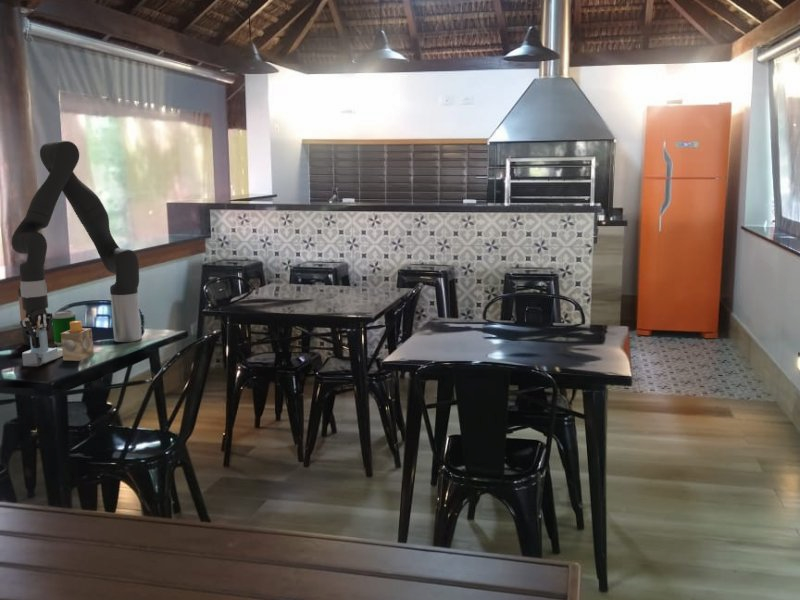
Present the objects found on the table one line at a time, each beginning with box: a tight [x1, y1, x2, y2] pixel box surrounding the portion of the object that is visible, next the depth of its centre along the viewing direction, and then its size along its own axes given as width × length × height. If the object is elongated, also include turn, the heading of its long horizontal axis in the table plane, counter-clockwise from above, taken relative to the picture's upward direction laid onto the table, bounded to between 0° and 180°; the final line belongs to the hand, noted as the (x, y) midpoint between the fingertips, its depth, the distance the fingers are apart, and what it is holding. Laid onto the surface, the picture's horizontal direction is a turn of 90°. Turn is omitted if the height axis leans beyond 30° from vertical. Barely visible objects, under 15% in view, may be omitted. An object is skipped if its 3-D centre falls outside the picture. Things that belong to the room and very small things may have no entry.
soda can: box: [51, 309, 77, 347], centre depth 268 cm, size 8×8×12 cm
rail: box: [21, 345, 63, 368], centre depth 251 cm, size 23×5×4 cm, turn 170°
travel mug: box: [17, 288, 35, 347], centre depth 270 cm, size 8×8×20 cm
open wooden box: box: [61, 327, 95, 362], centre depth 250 cm, size 8×6×9 cm
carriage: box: [21, 330, 58, 364], centre depth 244 cm, size 7×8×10 cm
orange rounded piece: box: [70, 320, 83, 333], centre depth 249 cm, size 4×4×5 cm
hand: (39, 346), depth 244 cm, fingers closed on carriage, 2 cm apart
